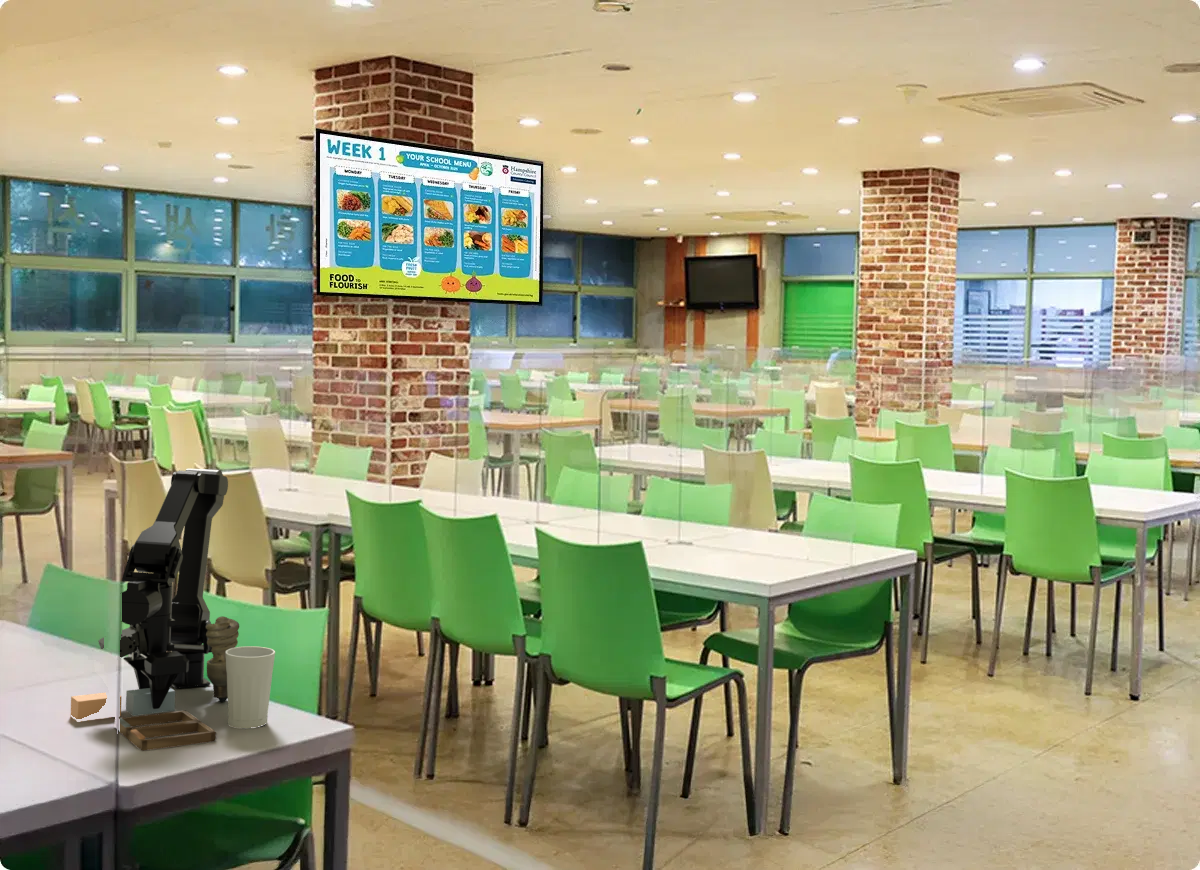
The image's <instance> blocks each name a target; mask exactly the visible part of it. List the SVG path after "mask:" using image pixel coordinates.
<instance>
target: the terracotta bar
mask: <svg viewBox="0 0 1200 870" xmlns="http://www.w3.org/2000/svg"><path fill="white" fill-rule="evenodd" d="M106 699H107V695H106V692H100V693H98V692H97V693H90V694H80V695H72V696H70V716H71V715H72V716H73V717H75V718H76V719H82V718H84V717H87V716H89V715H91V714H94V713H97V712H99V710H100V709H101V708H102V706H104V705H105V703H106ZM120 716H121V717H122V695H120Z"/></svg>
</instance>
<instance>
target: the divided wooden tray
mask: <svg viewBox="0 0 1200 870" xmlns="http://www.w3.org/2000/svg"><path fill="white" fill-rule="evenodd" d="M119 718H120V732H119V734H120V735H122V736H123V737H124V738H126V739H127V740H128V741H129V742H131V744H133V746H135V747H136V748H137V749H139V750H140V751H141V752H143V751H150V750H158V749H159V750H160V749H166V748H173V747H175V748H176V747H182V746H183V747H184V746H188V745H195V744H206V743H211V742H216V740H217V732H216V731H215V730H214V729H213V728H211V727H210V726H208V725H207V724H206V723H204V722H203V721H202V720H200V719H198V718H197V717H196V716H194V715H193V714H191V713H190V712H189V711H187V710H177V711H169V712H161V713H153V714H145V715H136V716H133V715H131V716H126V717H119Z"/></svg>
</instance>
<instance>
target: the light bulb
mask: <svg viewBox="0 0 1200 870" xmlns="http://www.w3.org/2000/svg"><path fill="white" fill-rule="evenodd" d="M206 628H207V630H208V631H207V633H206V636H207V637H208V638H209V639H208V641H207V645H209V646H211V647H212V649H211V651H212V652H211V654H212V657H211V658H210V659H208V660H207V661H206V676H207V680H208V681H209V682H210V684H212V687H213V689H212V690H213V699H218V701H219V702H220V703H224V702H227V701H228V693H227V671H226V655H225V652H226V650H228V649H231V648H236V647H238V646H237V645H238V642H239V641H238V637H239V636H240V635H239V629H240V624H239V622H238V621H237V620H235V619H233V618H229V617H226V616H222V615H221V616H218V617H217V618H216V619H215V622H214V623H211V624H207V626H206Z"/></svg>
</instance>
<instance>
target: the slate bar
mask: <svg viewBox="0 0 1200 870" xmlns="http://www.w3.org/2000/svg"><path fill="white" fill-rule="evenodd" d="M125 695H126V697H125V712H127V713H129V714H130V715H131V716H141V715H150V714H158V713H167V712H175V709H176V708H175V706H176V704H175V703H176V690H174V689H173V688H171V687H170V689H169V691H168V693H167V695H166V697H165V699H164V701H163V703H162V705H161V706H160V708H159V709H153V707H152V701H151V693H150V688H146V689H139V688H137V689H130V690H126V693H125Z"/></svg>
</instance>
